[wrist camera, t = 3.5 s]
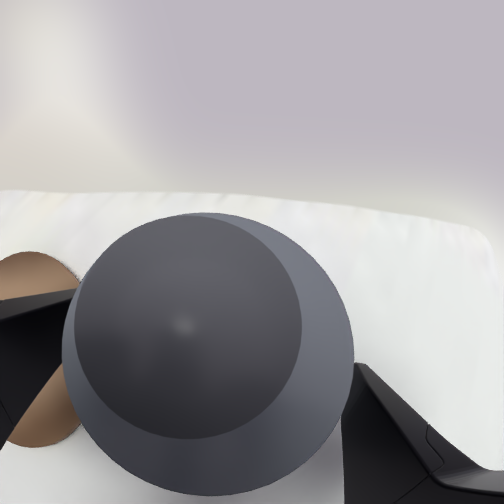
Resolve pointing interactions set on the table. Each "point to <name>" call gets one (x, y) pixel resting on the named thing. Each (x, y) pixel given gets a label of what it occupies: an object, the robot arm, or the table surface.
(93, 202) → the table surface
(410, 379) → the table surface
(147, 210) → the table surface
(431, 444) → the robot arm
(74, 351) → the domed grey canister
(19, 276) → the cheese board
